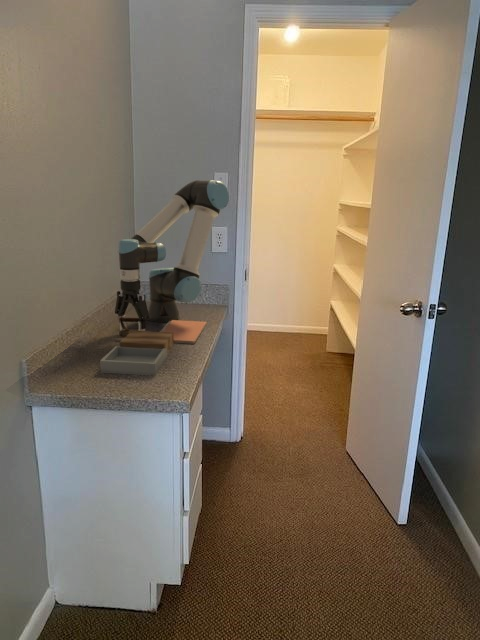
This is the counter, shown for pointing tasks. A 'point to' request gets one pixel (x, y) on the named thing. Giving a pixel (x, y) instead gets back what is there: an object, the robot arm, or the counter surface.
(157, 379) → the counter surface
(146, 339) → the walnut stand
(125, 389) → the counter surface
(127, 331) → the clothes iron
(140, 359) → the bin
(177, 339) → the notebook
